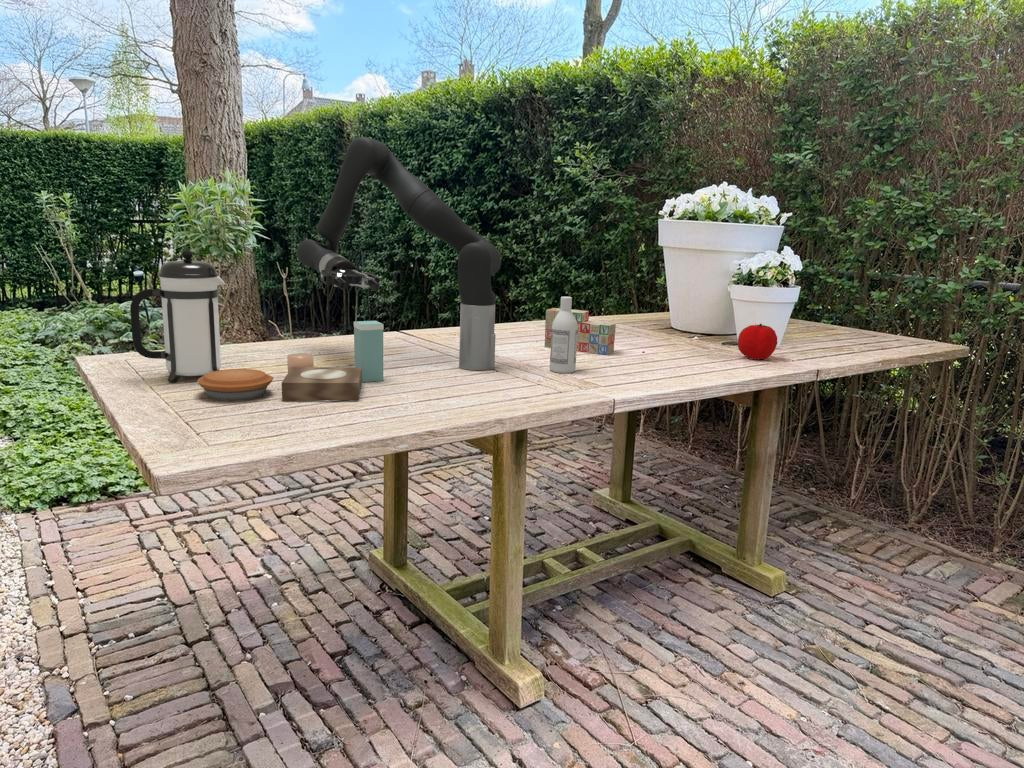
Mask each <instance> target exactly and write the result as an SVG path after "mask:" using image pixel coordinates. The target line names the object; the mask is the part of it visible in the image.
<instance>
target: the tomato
mask: <svg viewBox="0 0 1024 768" xmlns="http://www.w3.org/2000/svg"><path fill="white" fill-rule="evenodd" d="M777 345H778V336H777V333H776V330H775V329H773V328H772V327H771V326H769V325H764V324H763V323H759V324H756V323H754V324H751V325H748V326H746V327H744V328H742V329H741V331H740V333H739V335H738V339H737V347H738V350H739V352H740V354H742V355H743V356H745V357H746V358H748V359H752V358H753V360H758V359H763V360H766V359H769V358H770V357H771V356H772V354H774V352H775V351H776V348H777Z"/></svg>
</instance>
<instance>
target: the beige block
mask: <svg viewBox="0 0 1024 768" xmlns="http://www.w3.org/2000/svg"><path fill="white" fill-rule="evenodd" d="M286 357H287V360H286V361H287V373H288V372H289V371H290V369H291V368H292V367H315V366H314V355H313V354H310V353H304V352H303V353H302V352H301V353H290V354H287V356H286Z"/></svg>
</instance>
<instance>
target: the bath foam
mask: <svg viewBox="0 0 1024 768" xmlns="http://www.w3.org/2000/svg"><path fill="white" fill-rule="evenodd" d="M572 302H573V297H571V296H561V297H560V311H559V313H558V314H557V316H556V317H555V319H554V321H553V324H552V332H551V348H550V352H549V353H550V356H549V370H550V371H551V372H552V373H555V374H571V373H574V372H575V371H576V363H577V352H578V351H577V334H578V326H577V321H576V319H575V317H574V315H573V313H572V311H571V310H572V305H573V303H572Z"/></svg>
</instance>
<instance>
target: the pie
mask: <svg viewBox="0 0 1024 768" xmlns="http://www.w3.org/2000/svg"><path fill="white" fill-rule="evenodd" d="M273 380H274V376H272V375H269V374H268V373H266V372H265V371H262V370H258V369H252V368H230V369H219V371H214V372H210V373H208V374H206V375H201V377H199V378H198V379H197V384H198V385H199V386H200V387H201V388H202V389H203V390H204V391H205V393H206V394H207V396H208V397H209V398H211V399H213V400H216V401H224V402H225V401H226V402H236V401H237V402H238V401H246V400H247V401H248V400H253V399H256V398H260V397H262V396H263V395H264V394H265V391H266V390H267V388H268V387H269V385H271V383H272V382H273Z"/></svg>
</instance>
